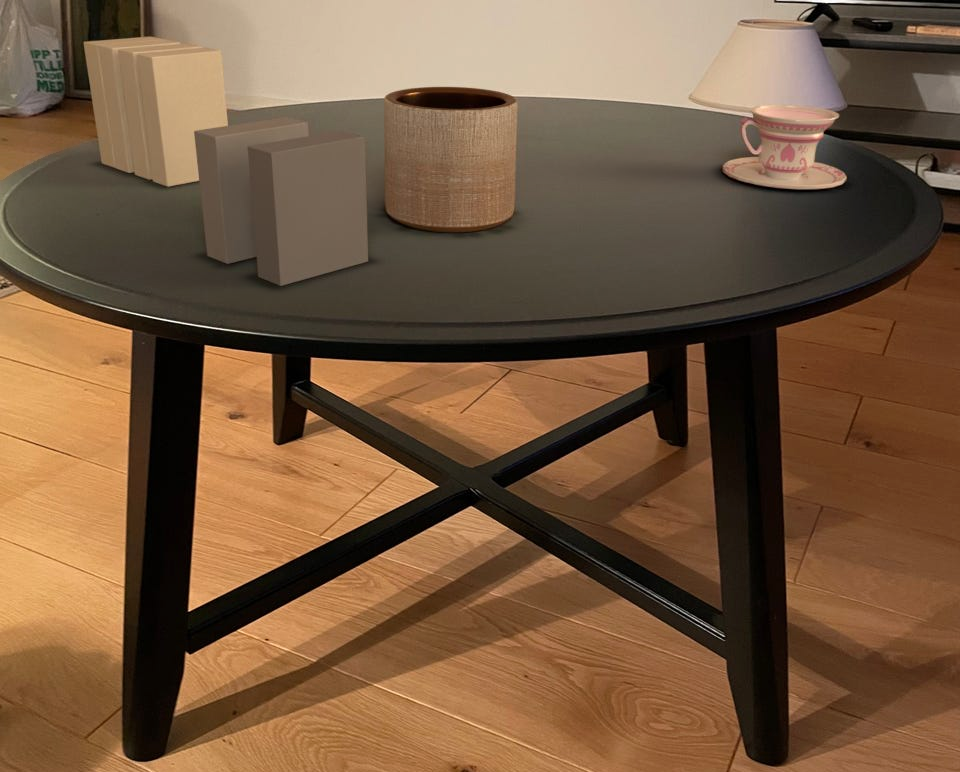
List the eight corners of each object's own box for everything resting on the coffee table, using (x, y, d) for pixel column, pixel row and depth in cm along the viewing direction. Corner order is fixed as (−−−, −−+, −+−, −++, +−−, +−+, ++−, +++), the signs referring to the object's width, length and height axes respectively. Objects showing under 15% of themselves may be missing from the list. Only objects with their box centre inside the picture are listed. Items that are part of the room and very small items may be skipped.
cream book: (148, 180, 94) (132, 52, 89) (134, 175, 96) (117, 49, 91) (213, 168, 99) (201, 46, 94) (199, 163, 100) (186, 43, 95)
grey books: (280, 286, 71) (271, 152, 66) (206, 256, 76) (193, 130, 71) (368, 261, 76) (365, 136, 71) (293, 235, 81) (286, 116, 77)
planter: (517, 236, 82) (522, 112, 77) (380, 233, 82) (378, 108, 77) (511, 200, 92) (515, 87, 87) (389, 197, 91) (387, 84, 87)
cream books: (167, 187, 92) (151, 57, 87) (101, 163, 99) (82, 41, 94) (232, 174, 97) (221, 50, 92) (165, 153, 104) (151, 36, 98)
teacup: (827, 164, 107) (839, 103, 104) (861, 194, 97) (875, 126, 94) (712, 160, 107) (720, 99, 104) (733, 190, 97) (743, 122, 94)
